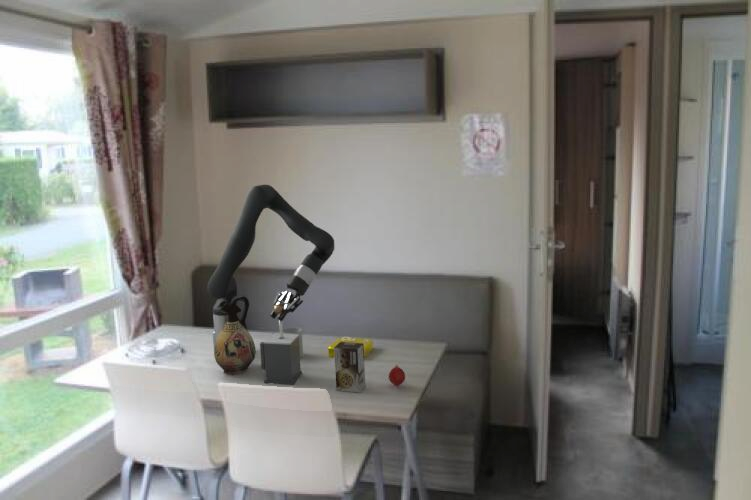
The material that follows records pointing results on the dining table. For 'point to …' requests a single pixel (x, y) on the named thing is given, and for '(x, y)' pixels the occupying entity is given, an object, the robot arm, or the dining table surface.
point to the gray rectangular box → (281, 359)
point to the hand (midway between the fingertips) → (275, 318)
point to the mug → (295, 331)
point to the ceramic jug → (234, 339)
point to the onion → (396, 376)
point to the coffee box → (349, 367)
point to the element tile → (366, 342)
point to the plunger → (277, 310)
